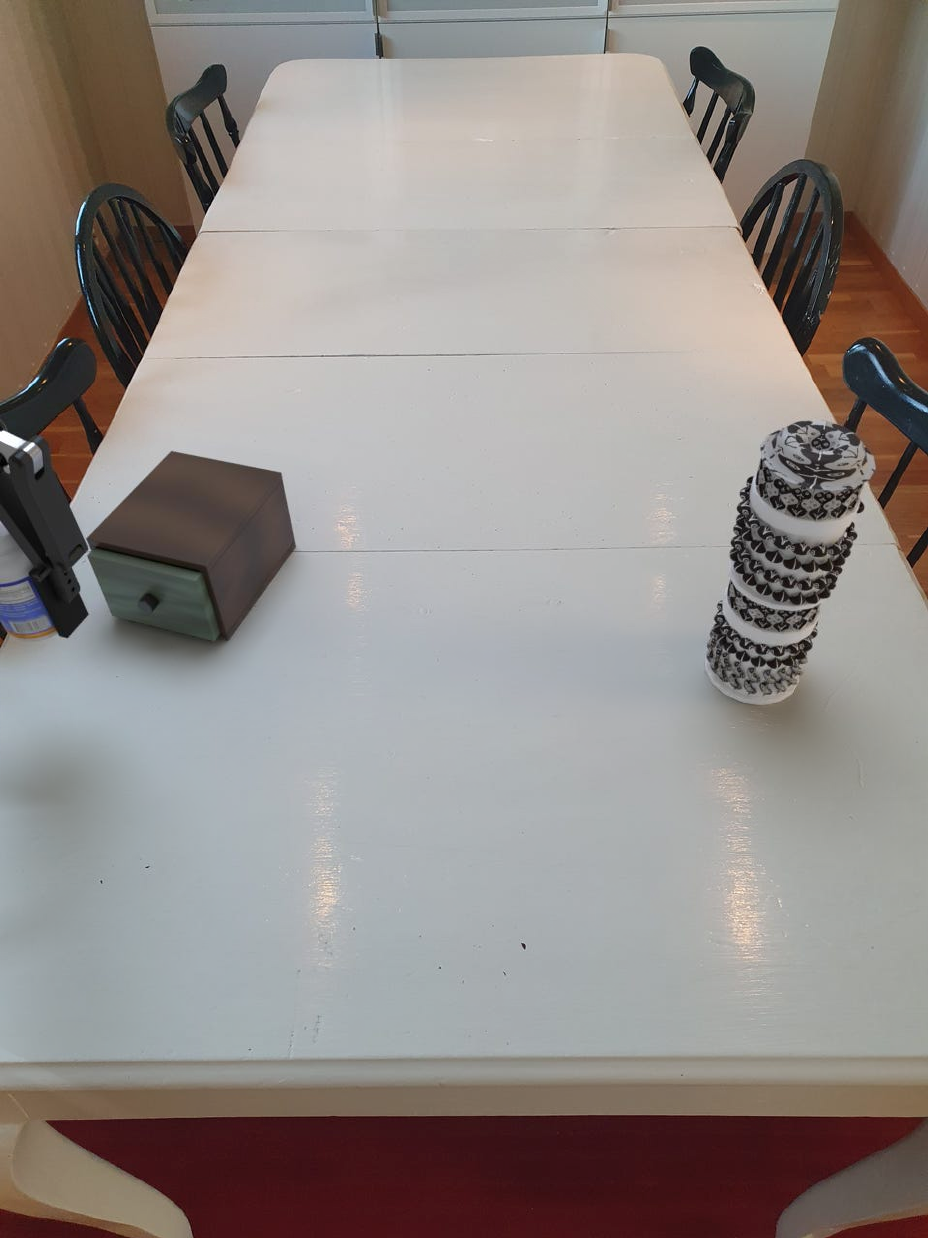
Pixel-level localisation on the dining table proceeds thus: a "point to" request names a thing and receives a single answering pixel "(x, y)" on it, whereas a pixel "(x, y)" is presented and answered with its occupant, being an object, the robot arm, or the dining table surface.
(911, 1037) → the dining table surface
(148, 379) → the dining table surface
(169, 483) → the cabinet
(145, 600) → the drawer
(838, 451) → the decorative candle
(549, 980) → the dining table surface
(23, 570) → the pill bottle
